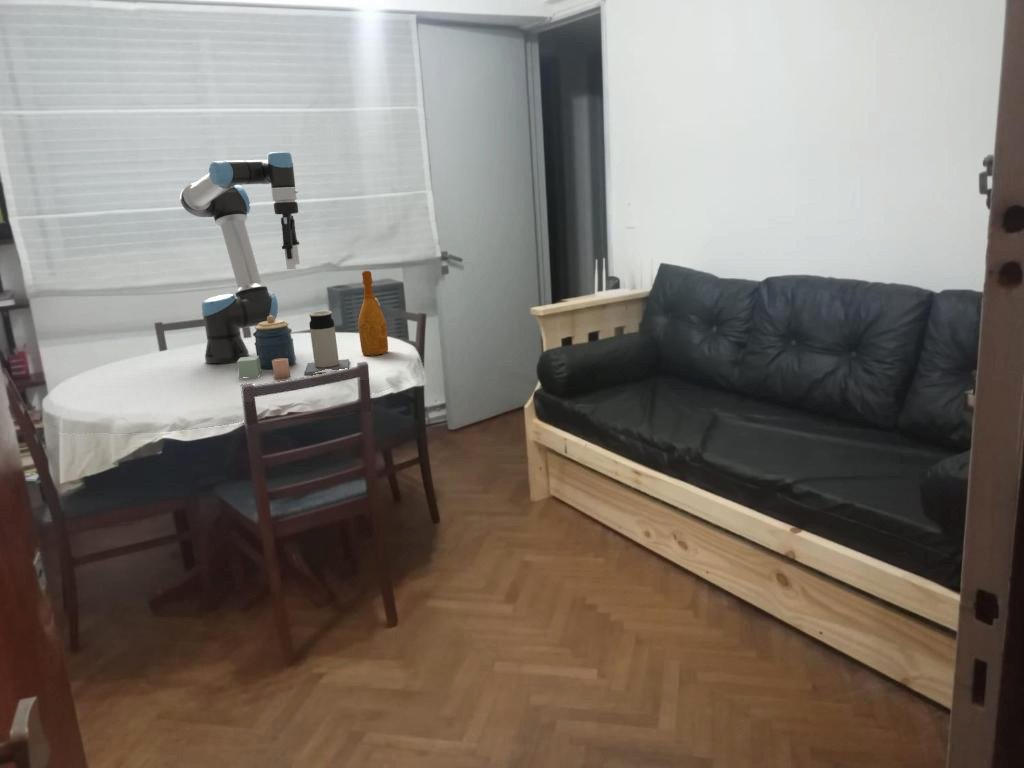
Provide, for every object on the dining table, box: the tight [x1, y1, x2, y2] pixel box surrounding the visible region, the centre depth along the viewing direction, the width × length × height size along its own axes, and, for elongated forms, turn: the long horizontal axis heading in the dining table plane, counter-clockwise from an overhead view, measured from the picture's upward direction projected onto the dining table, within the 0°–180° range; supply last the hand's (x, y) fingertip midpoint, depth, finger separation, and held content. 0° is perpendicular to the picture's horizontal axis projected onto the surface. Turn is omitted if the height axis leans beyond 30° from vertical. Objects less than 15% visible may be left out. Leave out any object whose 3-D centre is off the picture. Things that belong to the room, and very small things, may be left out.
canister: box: [252, 315, 297, 370], centre depth 252 cm, size 13×13×18 cm
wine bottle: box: [357, 270, 389, 356], centre depth 259 cm, size 10×10×30 cm
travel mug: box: [308, 310, 340, 368], centre depth 242 cm, size 8×8×18 cm
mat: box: [303, 358, 350, 376], centre depth 244 cm, size 14×14×1 cm
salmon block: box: [272, 358, 291, 381], centre depth 235 cm, size 5×5×6 cm
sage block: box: [236, 355, 262, 379], centre depth 240 cm, size 6×6×6 cm
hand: (293, 266), depth 243 cm, fingers open, 13 cm apart
